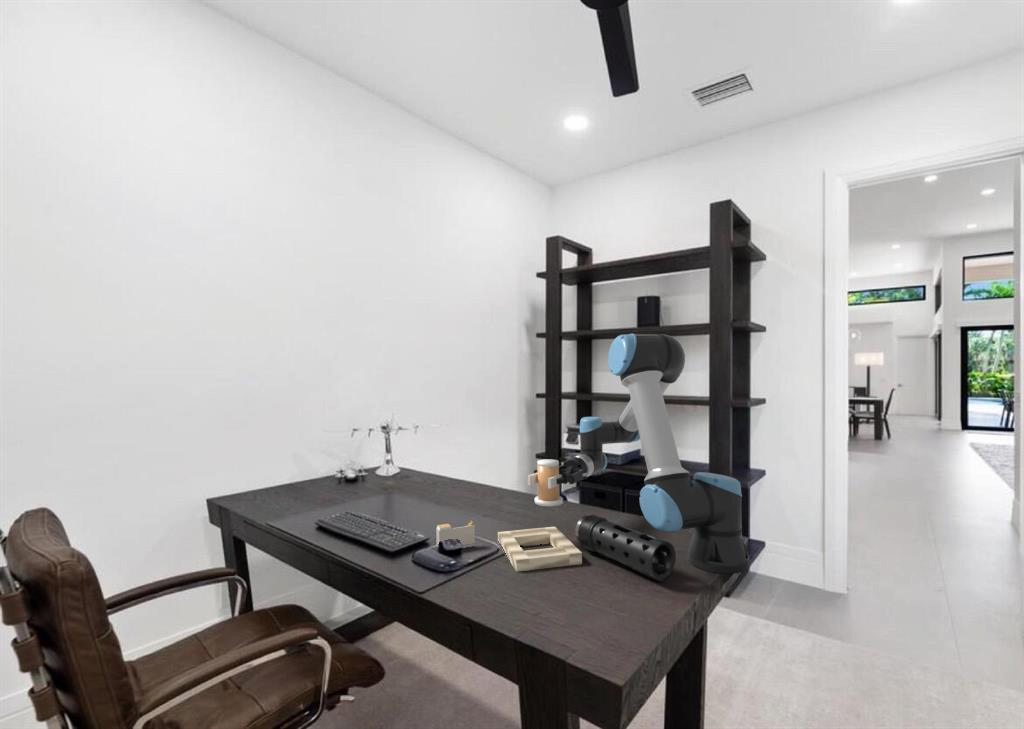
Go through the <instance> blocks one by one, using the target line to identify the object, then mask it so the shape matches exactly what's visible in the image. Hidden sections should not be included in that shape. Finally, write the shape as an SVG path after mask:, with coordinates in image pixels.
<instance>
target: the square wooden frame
mask: <svg viewBox="0 0 1024 729" xmlns="http://www.w3.org/2000/svg"><path fill="white" fill-rule="evenodd" d="M498 541H499V543H500V544H501V546H502V547H503V549H504V551H505V553H506V554H505V553H504V554H505V556H506V555H507V556H506V558H507V559H508V561H509V560H510V561H509V562H510V564H511V565H512V567H513V568H514V570H515V572H517V573H518V572H525V571H534V570H542V569H551V568H552V569H553V568H558V567H559V568H560V567H567V566H575V565H576V566H577V565H582V564H583V552H582V551H580V549H579V548H578V547H577V546H575V545H574V544H573V542H571V540H569V539H568V538H567V537H566V536H565V535H564V533H563V532H561V531H560V530H559V529H558V528H557V527H556V526H546V527H537V528H525V529H516V530H506V531H497V542H498ZM499 543H498V544H499ZM549 543H550V544H549ZM540 544H542V545H552V546H553V547H552V546H551V547H548V548H538V549H537V548H536V549H530V550H529V549H528V550H524V549H523V548H522V547H520V545H523V547H531V545H532V546H539V545H540ZM501 546H500V547H501ZM503 549H502V550H503ZM504 551H503V552H504Z"/></svg>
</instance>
